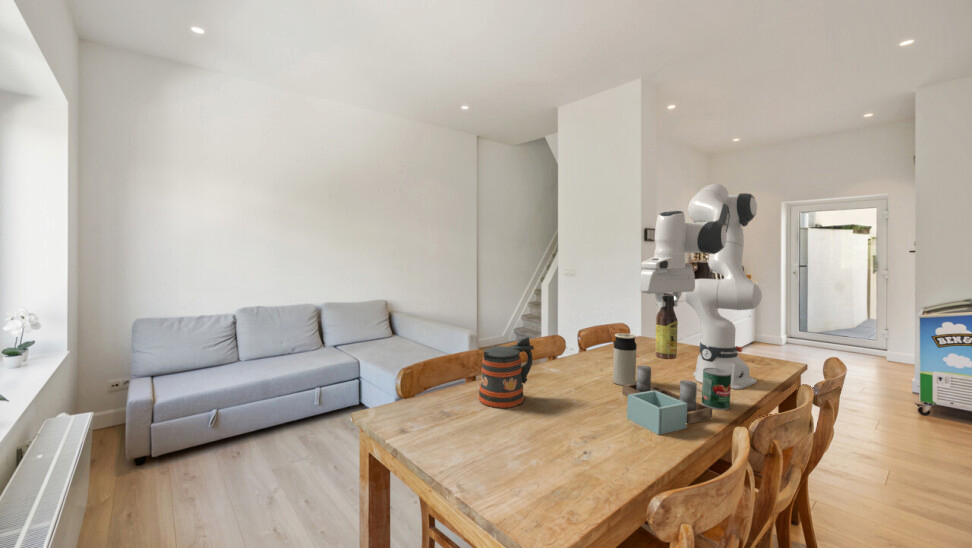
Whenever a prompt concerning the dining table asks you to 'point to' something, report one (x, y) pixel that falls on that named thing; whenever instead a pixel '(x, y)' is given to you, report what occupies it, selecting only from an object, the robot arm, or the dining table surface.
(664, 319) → the sauce bottle
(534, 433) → the dining table surface
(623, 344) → the travel mug
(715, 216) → the robot arm
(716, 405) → the canned tomato
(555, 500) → the dining table surface
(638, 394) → the box
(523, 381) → the beer stein
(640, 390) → the rack
